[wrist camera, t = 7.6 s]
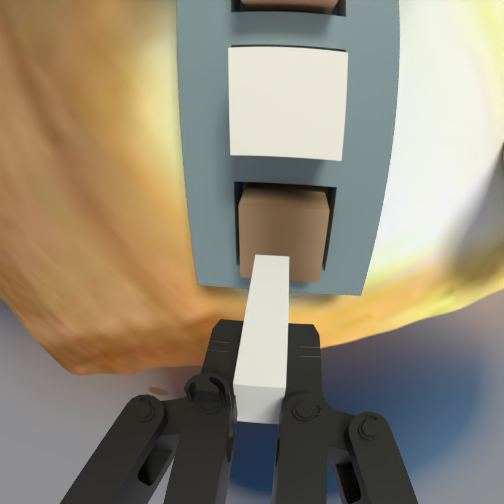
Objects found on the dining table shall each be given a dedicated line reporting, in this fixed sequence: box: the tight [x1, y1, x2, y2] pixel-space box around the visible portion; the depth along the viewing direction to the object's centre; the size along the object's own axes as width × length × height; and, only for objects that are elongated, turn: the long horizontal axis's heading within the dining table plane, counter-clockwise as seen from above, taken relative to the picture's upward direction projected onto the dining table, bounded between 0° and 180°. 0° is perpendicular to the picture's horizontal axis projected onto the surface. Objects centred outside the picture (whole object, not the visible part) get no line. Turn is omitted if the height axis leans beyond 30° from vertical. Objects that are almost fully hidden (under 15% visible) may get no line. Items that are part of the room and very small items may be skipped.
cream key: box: [228, 47, 348, 161], centre depth 13 cm, size 5×5×4 cm
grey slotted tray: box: [177, 0, 400, 296], centre depth 16 cm, size 12×26×4 cm, turn 0°
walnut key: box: [238, 182, 330, 283], centre depth 18 cm, size 5×5×4 cm
